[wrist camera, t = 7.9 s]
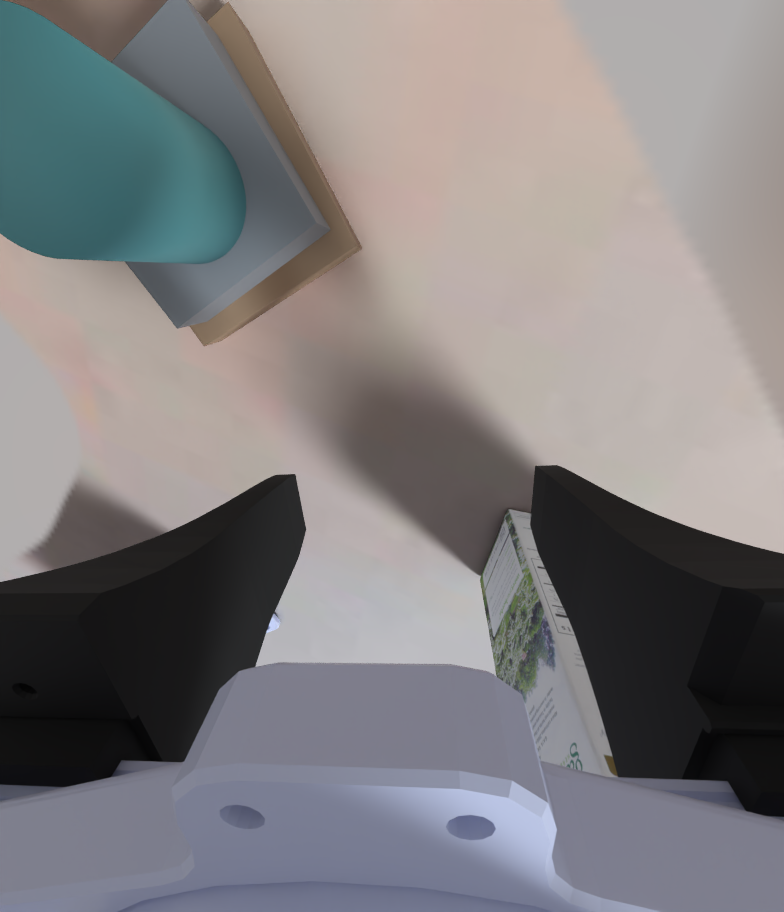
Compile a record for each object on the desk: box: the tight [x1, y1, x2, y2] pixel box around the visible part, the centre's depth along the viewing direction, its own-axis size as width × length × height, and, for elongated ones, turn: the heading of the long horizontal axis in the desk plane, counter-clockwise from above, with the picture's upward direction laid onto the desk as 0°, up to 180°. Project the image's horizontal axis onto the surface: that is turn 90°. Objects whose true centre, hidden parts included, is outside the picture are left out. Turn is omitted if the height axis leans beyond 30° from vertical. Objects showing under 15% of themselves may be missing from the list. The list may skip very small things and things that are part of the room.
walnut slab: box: [190, 2, 362, 346], centre depth 17 cm, size 8×8×2 cm
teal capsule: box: [0, 0, 246, 264], centre depth 11 cm, size 4×4×6 cm
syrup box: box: [480, 509, 618, 777], centre depth 18 cm, size 6×6×14 cm
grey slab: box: [111, 0, 331, 328], centre depth 15 cm, size 7×7×2 cm
